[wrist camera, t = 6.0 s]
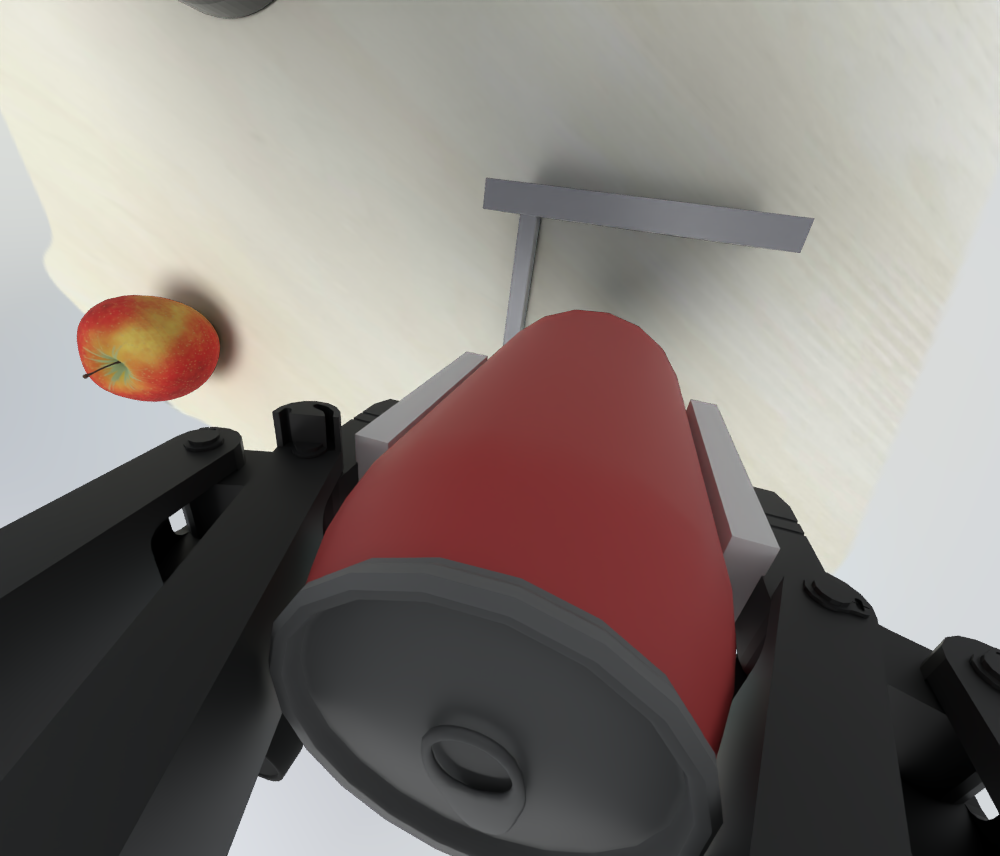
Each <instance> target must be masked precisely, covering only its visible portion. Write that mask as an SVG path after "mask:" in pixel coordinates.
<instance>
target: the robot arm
mask: <svg viewBox="0 0 1000 856" xmlns="http://www.w3.org/2000/svg"><path fill="white" fill-rule="evenodd" d="M178 1H180V2H182V3H184V4H186V5H188V6H190V7H192V8H194V9H196V10H198V11H200V12H202V13H205V14H208V15H211V16H215V17H220V18H238V17H243V16H247V15H250V14H252V13H255V12H257V11H259V10H261V9H262V8H264V7H265V6H267V5H268V4H269V3H271V2H272V1H273V0H178ZM487 358H488V356H485V355H481V354H476V353H471V352H465V353H464V354H463V355H461V356H460V357H459V358H457V359H456V360H455V361H453V362H452V363H451V364H449V365H448V366H446V367H445V368H444V369H442V370H441V371H440V372H438V373H437V374H436V375H434V376H433V377H432V378H430V379H429V380H427V381H426V382H425V383H423V384H422V385H421V386H419V387H418V388H417V389H415V390H414V391H413V392H411V393H410V394H409V395H407V396H406V397H404V398H403V399H402V400H400V401H396V400H392V399H389V400H385V401H382V402H379V403H376V404H374V405H372V406H371V407H369V408H368V409H366V410H365V411H363V413H360V414H359V415H357V416H356V417H354V420H353V419H351V420H350V421H348V422H347V423H346V424H344V425H343V426H341V415H340V411H339V410H338V408H337V407H335V406H333V405H331V404H329V403H324V402H318V401H302V402H295V403H290V404H287V405H284V406H281V407H279V408H277V409H276V410H274V411H273V412H272V413H273V420H274V427H275V434H276V440H277V448H276V449H275V450H274V451H273V452H266V451H251V450H244V447H243V441H242V437H241V435H240V434H239V433H238V432H237V431H234V430H231V429H228V428H219V427H210V428H209V427H205V428H200V429H198V430H193V431H189V432H186V433H184V434H181V435H179V436H177V437H175V438H173V439H171V440H169V441H167V442H165V443H163V444H161V445H159V446H157V447H156V448H154V449H152V450H150V451H148V452H146V453H144V454H142V455H140V456H138V457H136V458H135V459H132V460H131V461H129V462H127V463H125V464H123V465H121V466H119V467H117V468H115V469H113V470H111V471H110V472H108V473H106V474H104V475H102V476H100V477H98V478H96V479H94V480H92V481H90V482H89V483H87V484H85V485H83V486H81V487H79V488H77V489H75V490H73V491H71V492H69V493H68V494H66V495H64V496H62V497H60V498H58V499H56V500H54V501H52V502H50V503H48V504H47V505H45V506H43V507H41V508H39V509H37V510H35V511H33V512H31V513H29V514H27V515H26V516H24V517H22V518H20V519H18V520H16V521H14V522H12V523H10V524H8V525H7V526H4V527H3V528H1V529H0V856H227V855H228V852H229V849H230V847H231V844H232V842H233V839H234V837H235V834H236V831H237V829H238V826H239V824H240V821H241V818H242V816H243V813H244V810H245V808H246V805H247V803H248V800H249V798H250V795H251V792H252V789H253V787H254V785H255V782H256V779H257V777H258V774H259V772H260V769H261V766H262V764H263V761H264V759H265V756H266V753H267V751H268V748H269V746H270V743H271V740H272V738H273V735H274V733H275V730H276V727H277V725H278V722H279V720H280V717H281V714H282V711H281V708H280V705H279V702H278V698H277V695H276V692H275V689H274V685H273V682H272V679H271V676H270V673H269V663H268V658H269V651H270V643H271V635H272V628H273V622H274V621H275V620H276V619H277V617H278V616H279V615H280V614H281V613H282V611H283V610H284V609H285V608H286V607H287V605H288V604H289V603H290V602H291V601H292V600H293V598H294V597H295V596H296V595H297V594H298V592H299V591H300V590H301V589H302V588H303V587H304V586H305V584H306V581H307V579H308V576H309V573H310V570H311V568H312V565H313V562H314V560H315V557H316V555H317V552H318V549H319V547H320V544H321V542H322V539H323V537H324V534H325V532H326V530H327V528H328V526H329V525H330V523H331V522H332V520H333V518H334V517H335V515H336V513H337V512H338V510H339V509H340V507H341V505H342V504H343V502H344V501H345V499H346V498H347V496H348V495H349V494H350V492H351V491H352V490H353V488H354V487H355V486H356V485H357V483H358V482H359V481H360V479H361V478H362V477H363V476H364V474H365V473H366V472H367V470H368V469H369V468H370V466H371V465H372V464H373V463H374V461H376V460H377V459H378V458H379V457H380V456H381V455H382V454H383V453H385V452H386V451H387V450H388V449H389V448H390V447H391V446H392V445H393V444H395V443H396V442H397V441H398V440H399V439H400V438H401V437H402V436H403V435H405V434H406V433H407V432H408V431H409V430H410V429H411V428H412V427H413V426H415V425H416V424H417V423H418V422H419V421H420V420H421V419H422V418H424V417H425V416H426V415H427V414H428V413H429V412H430V411H431V410H432V409H434V408H435V407H436V406H437V405H438V404H439V403H440V402H441V401H442V400H444V399H445V398H446V397H447V396H448V395H449V394H450V393H451V392H453V391H454V390H455V389H456V388H457V387H458V386H459V385H460V384H461V383H463V382H464V381H465V380H466V379H467V378H468V377H469V376H470V375H471V374H473V373H474V372H475V371H476V370H477V369H478V368H479V367H480V366H481V365H483V364H484V363H485V362H486V361H487ZM686 414H687V417H688V421H689V425H690V429H691V433H692V437H693V441H694V444H695V448H696V452H697V456H698V460H699V464H700V467H701V471H702V475H703V479H704V483H705V487H706V491H707V494H708V498H709V502H710V506H711V510H712V514H713V517H714V521H715V525H716V529H717V533H718V537H719V541H720V544H721V548H722V552H723V556H724V560H725V564H726V567H727V571H728V575H729V579H730V583H731V587H732V593H733V606H734V620H735V633H736V649H737V654H736V665H735V687H734V695H733V698H732V702H731V706H730V710H729V714H728V718H727V722H726V726H725V730H724V734H723V737H722V741H721V744H720V748H719V751H718V754H717V758H716V763H717V770H718V779H719V787H720V796H721V805H722V814H723V824H722V826H721V827H720V829H719V831H718V832H717V834H716V836H715V837H714V839H713V841H712V843H711V844H710V846H709V848H708V849H707V851H706V853H705V854H704V856H1000V650H999V649H997V648H993V647H991V646H989V645H987V644H985V643H982V642H980V641H978V640H974V639H970V638H966V637H961V636H952V637H946V638H945V639H944V640H943V641H942V642H941V643H940V644H939V645H938V646H937V647H936V648H935V649H934V650H933V651H932V650H930V649H928V648H926V647H924V646H922V645H919V644H917V643H915V642H913V641H911V640H909V639H907V638H905V637H903V636H901V635H899V634H897V633H894V632H892V631H890V630H888V629H886V628H884V627H882V626H881V625H879V624H878V620H877V617H876V615H875V612H874V610H873V608H872V606H871V605H870V604H869V603H868V602H867V601H866V600H865V599H864V597H863V596H862V595H861V594H859V593H858V592H857V591H856V590H854V589H853V588H852V587H850V586H849V585H848V584H846V583H845V582H843V581H841V580H840V579H838V578H836V577H834V576H832V575H830V574H829V573H826V572H825V570H824V569H823V567H822V565H821V563H820V561H819V559H818V558H817V556H816V554H815V552H814V550H813V548H812V546H811V545H810V543H809V541H808V539H807V537H806V536H804V532H803V530H802V528H801V526H800V524H797V522H798V521H797V519H796V517H795V515H794V513H793V511H792V510H791V508H790V506H789V505H788V504H787V503H785V502H784V501H783V500H782V499H781V498H780V497H779V496H778V495H777V494H776V493H775V492H772V491H768V490H764V489H760V488H756V487H753V486H752V484H751V481H750V479H749V477H748V475H747V472H746V470H745V468H744V466H743V463H742V461H741V459H740V456H739V454H738V452H737V450H736V447H735V445H734V443H733V441H732V438H731V436H730V434H729V432H728V429H727V427H726V425H725V422H724V420H723V418H722V416H721V413H720V411H719V409H718V407H717V405H715V404H711V403H706V402H701V401H697V400H692V399H691V400H690V402H689V405H688V408H687V411H686ZM181 508H182V509H183V513H184V516H185V519H186V523H187V525H186V526H185V527H183V528H182V529H180V530H178V531H176V532H174V531H173V530H172V527H171V524H170V521H169V517H170V516H171V515H173V514H174V513H176V512H177V511H178V510H180V509H181ZM984 788H986V790H987V792H988V793H989V795H990V797H991V799H992V801H993V803H994V805H995V806H996V808H997V810H998V812H999V815H998V816H997V817H995V818H994V819H991V820H988V818H987V817H986V815H985V814H984V812H983V811H982V809H981V808H980V805H979V803H978V801H977V799H976V797H975V795H976V794H977V793H978V792H980V791H981V790H982V789H984Z"/></svg>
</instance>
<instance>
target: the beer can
mask: <svg viewBox="0 0 1000 856" xmlns="http://www.w3.org/2000/svg"><path fill="white" fill-rule="evenodd" d="M268 663H269V673H270V676H271V679H272V682H273V685H274V689H275V692H276V695H277V698H278V702H279V705H280V708H281V711H282V713H283V714H284V716H285V717H286V719H287V720H288V722H289V723H290V725H291V726H292V728H293V729H294V731H295V732H296V734H297V736H298V737H299V739H300V740H301V742H302V743H303V745H304V746H305V748H306V749H307V750H308V751H309V752H310V753H311V754H312V756H313V757H314V758H316V760H317V761H318V762H319V763H320V764H321V765H322V766H323V767H324V768H325V769H326V770H327V771H328V772H329V773H330V774H331V775H332V776H333V777H334V778H335V779H336V780H337V781H338V782H339V783H340V785H341V786H343V787H344V788H345V789H346V790H348V791H349V792H350V793H352V794H353V795H354V796H355V797H357V798H358V799H359V800H361V801H362V802H363V803H365V804H366V805H367V806H368V807H370V808H371V809H372V810H374V811H375V812H376V813H378V814H379V815H380V816H381V817H383V818H384V819H386V820H387V821H389V822H391V823H392V824H394V825H396V826H397V827H399V828H401V829H402V830H404V831H406V832H408V833H409V834H411V835H413V836H414V837H416V838H418V839H420V840H421V841H423V842H425V843H426V844H428V845H430V846H431V847H433V848H435V849H437V850H440V851H442V852H444V853H446V854H449V855H451V856H704V854H705V853H706V851H707V849H708V848H709V846H710V844H711V843H712V841H713V839H714V837H715V836H716V834H717V832H718V831H719V829H720V827H721V826H722V824H723V814H722V805H721V796H720V787H719V779H718V770H717V763H716V758H717V754H718V751H719V748H720V744H721V741H722V737H723V734H724V730H725V726H726V722H727V718H728V714H729V710H730V706H731V702H732V698H733V695H734V687H735V665H736V633H735V620H734V606H733V593H732V587H731V583H730V579H729V575H728V571H727V567H726V564H725V560H724V556H723V552H722V548H721V544H720V541H719V537H718V533H717V529H716V525H715V521H714V517H713V514H712V510H711V506H710V502H709V498H708V494H707V491H706V487H705V483H704V479H703V475H702V471H701V467H700V464H699V460H698V456H697V452H696V448H695V444H694V441H693V437H692V433H691V429H690V425H689V421H688V417H687V414H686V410H685V406H684V402H683V398H682V394H681V391H680V387H679V383H678V379H677V376H676V374H675V372H674V370H673V368H672V366H671V364H670V362H669V360H668V358H667V356H666V354H665V352H664V350H663V349H662V348H661V347H660V346H659V345H658V344H657V343H656V342H655V341H654V340H653V339H652V338H651V337H650V336H648V335H647V334H646V333H645V332H644V331H643V330H642V329H641V328H640V327H639V326H636V325H634V324H632V323H630V322H628V321H625V320H623V319H621V318H619V317H616V316H614V315H612V314H610V313H604V312H594V311H584V310H572V311H567V312H563V313H558V314H554V315H549V316H545V317H543V318H541V319H540V320H538V321H536V322H535V323H533V324H531V325H530V326H528V327H526V328H525V329H523V330H521V331H520V332H518V333H517V334H516V335H515V336H514V337H513V338H512V339H510V340H509V341H508V342H507V343H506V344H505V345H504V346H503V347H502V348H500V349H499V350H498V351H497V352H496V353H495V354H494V355H493V356H492V357H490V358H489V359H488V360H487V361H486V362H485V363H484V364H483V365H481V366H480V367H479V368H478V369H477V370H476V371H475V372H474V373H473V374H471V375H470V376H469V377H468V378H467V379H466V380H465V381H464V382H463V383H461V384H460V385H459V386H458V387H457V388H456V389H455V390H454V391H453V392H451V393H450V394H449V395H448V396H447V397H446V398H445V399H444V400H442V401H441V402H440V403H439V404H438V405H437V406H436V407H435V408H434V409H432V410H431V411H430V412H429V413H428V414H427V415H426V416H425V417H424V418H422V419H421V420H420V421H419V422H418V423H417V424H416V425H415V426H413V427H412V428H411V429H410V430H409V431H408V432H407V433H406V434H405V435H403V436H402V437H401V438H400V439H399V440H398V441H397V442H396V443H395V444H393V445H392V446H391V447H390V448H389V449H388V450H387V451H386V452H385V453H383V454H382V455H381V456H380V457H379V458H378V459H377V460H376V461H374V463H373V464H372V465H371V466H370V468H369V469H368V470H367V472H366V473H365V474H364V476H363V477H362V478H361V479H360V481H359V482H358V483H357V485H356V486H355V487H354V488H353V490H352V491H351V492H350V494H349V495H348V496H347V498H346V499H345V501H344V502H343V504H342V505H341V507H340V509H339V510H338V512H337V513H336V515H335V517H334V518H333V520H332V522H331V523H330V525H329V526H328V528H327V530H326V532H325V534H324V537H323V539H322V542H321V544H320V547H319V549H318V552H317V555H316V557H315V560H314V562H313V565H312V568H311V570H310V573H309V576H308V579H307V581H306V584H305V586H304V587H303V588H302V589H301V590H300V591H299V592H298V594H297V595H296V596H295V597H294V598H293V600H292V601H291V602H290V603H289V604H288V605H287V607H286V608H285V609H284V610H283V611H282V613H281V614H280V615H279V616H278V617H277V619H276V620H275V621H274V622H273V628H272V635H271V643H270V651H269V658H268Z"/></svg>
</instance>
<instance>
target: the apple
mask: <svg viewBox="0 0 1000 856" xmlns="http://www.w3.org/2000/svg"><path fill="white" fill-rule="evenodd" d="M77 344H78V350H79V355H80V358H81V361H82V364H83V367H84V369H85V371H86V373H87V374H85V375H83V378H87V377H90V378H91V379H92V380H93V381H94V382H95V383H96V384H97V385H98V386H100V387H101V388H103V389H104V390H106V391H108V392H111V393H113V394H115V395H118V396H122V397H126V398H130V399H134V400H140V401H153V402H154V401H155V402H157V401H167V400H172V399H175V398H179V397H182V396H185V395H187V394H189V393H191V392H193V391H194V390H196V389H198V388H199V387H200V386H201V385H203V384H204V383H205V382H206V381H207V380H208V378H209V377H210V376H211V374H212V373H213V371H214V369H215V367H216V365H217V362H218V359H219V353H220V343H219V338H218V335H217V333H216V331H215V329H214V327H213V326H212V324H211V323H210V322H209V321H208V320H207V319H206V318H205V317H204V316H203V315H202V314H201V313H199V312H198V311H196V310H195V309H193V308H191V307H189V306H187V305H185V304H183V303H180V302H177V301H174V300H170V299H166V298H162V297H155V296H141V295H128V296H120V297H116V298H111V299H107V300H105V301H103V302H101V303H99V304H97V305H95V306H94V307H92V308H91V309H90V310H89V311H88V312H87V313H86V314H85V315H84V317H83V318H82V319H81V321H80V323H79V326H78V331H77Z"/></svg>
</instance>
